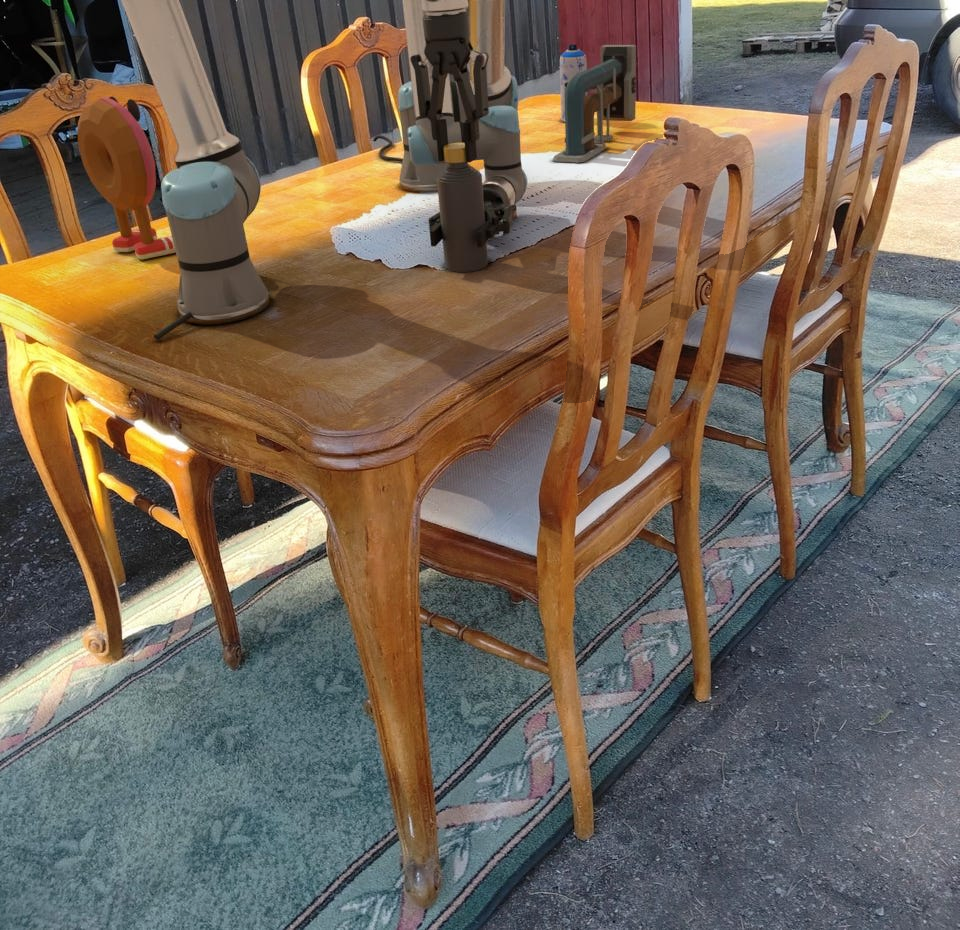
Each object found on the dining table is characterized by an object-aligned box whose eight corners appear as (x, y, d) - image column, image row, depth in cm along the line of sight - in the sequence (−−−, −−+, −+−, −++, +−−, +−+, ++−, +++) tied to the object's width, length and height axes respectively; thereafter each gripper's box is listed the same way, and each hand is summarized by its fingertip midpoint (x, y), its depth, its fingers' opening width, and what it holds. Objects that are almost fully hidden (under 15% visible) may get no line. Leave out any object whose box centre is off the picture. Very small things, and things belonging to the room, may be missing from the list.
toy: (197, 251, 195) (161, 95, 180) (152, 266, 189) (111, 105, 174) (143, 235, 208) (105, 88, 193) (99, 248, 202) (57, 97, 187)
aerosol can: (559, 122, 275) (557, 47, 265) (562, 117, 282) (559, 42, 272) (587, 121, 274) (585, 45, 263) (589, 115, 280) (587, 41, 270)
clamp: (583, 162, 234) (581, 68, 223) (550, 161, 238) (547, 68, 227) (635, 130, 260) (635, 44, 249) (604, 129, 263) (604, 45, 253)
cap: (476, 157, 167) (475, 143, 166) (459, 164, 164) (458, 150, 163) (456, 155, 170) (455, 141, 169) (438, 161, 167) (437, 147, 166)
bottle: (496, 261, 177) (488, 144, 166) (469, 274, 172) (459, 155, 161) (463, 255, 181) (454, 141, 171) (436, 268, 176) (424, 151, 166)
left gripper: (386, 16, 156) (402, 163, 168) (484, 13, 149) (494, 167, 161) (408, 10, 162) (423, 152, 174) (504, 7, 154) (513, 156, 166)
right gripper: (544, 222, 187) (513, 261, 169) (442, 220, 193) (402, 258, 174) (542, 183, 183) (511, 219, 165) (439, 182, 189) (397, 217, 171)
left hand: (457, 159), depth 167 cm, fingers open, 5 cm apart
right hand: (455, 239), depth 170 cm, fingers closed on bottle, 8 cm apart
